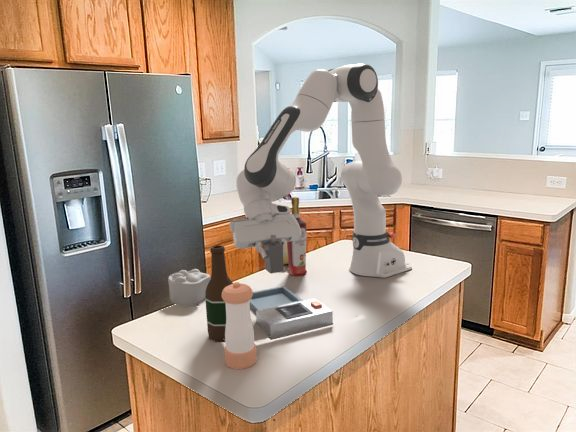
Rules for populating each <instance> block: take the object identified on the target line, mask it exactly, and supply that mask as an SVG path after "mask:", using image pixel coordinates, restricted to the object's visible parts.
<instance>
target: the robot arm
mask: <svg viewBox="0 0 576 432" xmlns="http://www.w3.org/2000/svg"><path fill="white" fill-rule="evenodd" d="M338 102H339V103H340V102H341V103H342V102H343V103H347V102H348V104H349V105H350V108H351V114H350V117H351V118H350V119H351V120H350V122H351V139H352V140H351V143H352V145H353V148H354V149H355V150H356V151H357V153H358V155H359V158H360V160H355V161H351V162H347V163H346V164H345V165H344V166H343V168H342V169H341V172H340V180H341V182H342V184H343V185H344V186H345V188H346V189H347V191H348V195H349V197H350V201H351V204H352V211H353V231H352V247H353V248H352V257H351V262H350V266H349V269H348V270H349V271H350V272H351V273H353V274H355V275H358V276H362V277H376V278H390V277H391V276H396V275H398V274H401V273H404V272H406V271H410V270H412V265H411V264H410V263H409V262H407V261H406V256H405V253H404V251H403V250H402V249H401V248H400V247H398V246H397V245H395V244H394V243H393V242H392V241H391V240H390V239H392V240H394V239H395V238H396V234H395V233H394V232H388V231H386V230H387V229H386V228H387V225H386V224H387V223H386V222H387V221H386V220H387V217H386V216H387V212H386V209H385V207H384V206H383V205H382V203H381V201H380V199H379V196H380V197H382V196H392V195H394V194H396V193H397V192H398V191H399V189H401V185H402V182H403V175H402V172H401V171H400V169H399V168H398V167H397V166H396V165H395V163H394V162H393V160H392V158H391V156H390V155H391V154H390V152H389V150H388V145H387V140H386V138H387V137H386V119H385V116H386V115H385V106H384V101H383V95H382V92H381V91H380V90H379V79H378V75H377V72H376V70H375V68H374V67H373V66H371V65H370V64H366V63H356V64H345V65H342V66H340V67H336V68H332V69H331V68H330V69H329V70H327V69H322V68H320V69H319V68H318V69H315V70H313V71H312V72H311V73H310V74H309V75H308V76H307V78H306V79H305V81H304V82H303V84H302V86H301V87H300V89H299V90H298V93H297V95H296V96H295V98H294V100H293V102H291V104H290V106H287V107H285V108H284V109H283V110H281V111H280V113H279V115H278V116H277V117H276V119H275V120H274V122H273V123H272V125H271V126H270V127H269V129H268V131H267V133H265V136H264V137H263V138H262V140H261V142H260V143H259V144H258V146H257V148H255V150H254V151H253V152H252V153H250V155H249V156H248V158H247V159H246V161H245V163H244V169H243V170H241V171H240V172H239V173H238V175H237V177H236V190H237V194H238V198H239V201H240V203H241V204H242V205H243V213H244V215H245V217H242V218H241V217H240V218H233V219H232V220H231V221H230V222H229V223H228V225H229V229H230V231H231V233H232V238H233V245H234V247H235V248H236V249H238V250H241V249H249V248H254V249H255V250H256V251H257V252H258V253H259V254H260V255H261V257H262V259H264V260H265V258H268V256H269V254H268V251H267V250H265V248H263V247H262V246H265V245H264V243H268V242H271V235H276V241H278V242H280V243H281V244H283V255H286V249H285V246H286V242H289V241H296V240H298V239H299V237H300V235H301V229H300V226H299V224H298V222H297V220H296V218H295V217H294V216H293V215H292V208H290V206H288V205H282V204H281V205H280V204H276V203H274V202H276V201H278V200H280V199H283V198H285V197H287V196H288V195H290V194H291V193H292V192H293V190H294V188H295V186H296V177H295V174H294V172H293V171H291V170H290V169H289V168H288V167H287V166H286V165H284V164H283V163H282V162H280V161H279V154H280V152H281V151H282V149H283V147H284V146H285V145H286V143H287V141H288V139H289V138H290V137H291V135H292V134H293V133H294V132H296V131H300V132H307V133H308V132H310V133H311V132H313V131H316V130H319V129H320V128H321V127H322V125H323V124H324V122H325V120H326V119H327V117H328V114H329V112H330V110H331V108H332V105H333V103H338Z"/></svg>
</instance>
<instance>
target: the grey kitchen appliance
mask: <svg viewBox="0 0 576 432" xmlns="http://www.w3.org/2000/svg"><path fill="white" fill-rule="evenodd" d="M255 318H256V319H255V321H256V322H257V324H258V325H259V326H260V327H261V328H262V329H263V330H264V331H265V332H266V333H267V335H269V337H267V338H268V339H269V340H270V341H271V340H277V339H281V338H285V337H289V336H292V335H296V334H301V333H305V332H309V331H314V330H318V329H321V328H325V327H329V326H333V322H334V321H333V320H334V319H333V318H334V317H333V310H332V309H330V308H329V307H328V306H326V305H325V304H324V303H322V302H321V301H320V300H318V299H316V298H309V299H305V300H303V301H300V302H295V303H290V304H286V305H281V306H276V307H272V308H267V309H262V310H258V311H256V312H255Z"/></svg>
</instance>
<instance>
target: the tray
mask: <svg viewBox="0 0 576 432" xmlns="http://www.w3.org/2000/svg"><path fill="white" fill-rule="evenodd" d="M252 292H253V295H252V298H251V299H250V309H252V310H253V311H254V312H255V313H256V311H258V310H262V309H267V308H272V307H276V306H281V305H286V304H290V303H295V302H300V301H304V300H303V299H302V298H301V297H299V295H297V294H295V293H294V292H293V291H292V290H290V289H289V288H287V287H286V286H285V285H282V286H276V287H272V288H266V289H261V290H256V291H255V290H254V291H252Z"/></svg>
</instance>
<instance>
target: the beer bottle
mask: <svg viewBox="0 0 576 432" xmlns="http://www.w3.org/2000/svg"><path fill="white" fill-rule="evenodd" d="M225 251H226V249H225V246H224V245H220V244H219V245H213V246H211V247H210V250H209V252H210V253H211V255H210V257H211V260H210V261H211V262H210V263H211V268H210V269H211V275H210V281H209V283H208V285H207V288H206V291H205V299H204V300H205V311H206V324H207V325H206V326H207V334H208V339H210V340H211V341H213V342H215V343H226V341H225V328H226V303H225V302H224V300H223V299H222V297H221V295H222V291H223V289H224V288H225V287H227V286H229V285H231V284H233V283H234V282H233V281H232V279H231V278H230V277H229V274H228V271H227V265H226V257H225Z"/></svg>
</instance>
